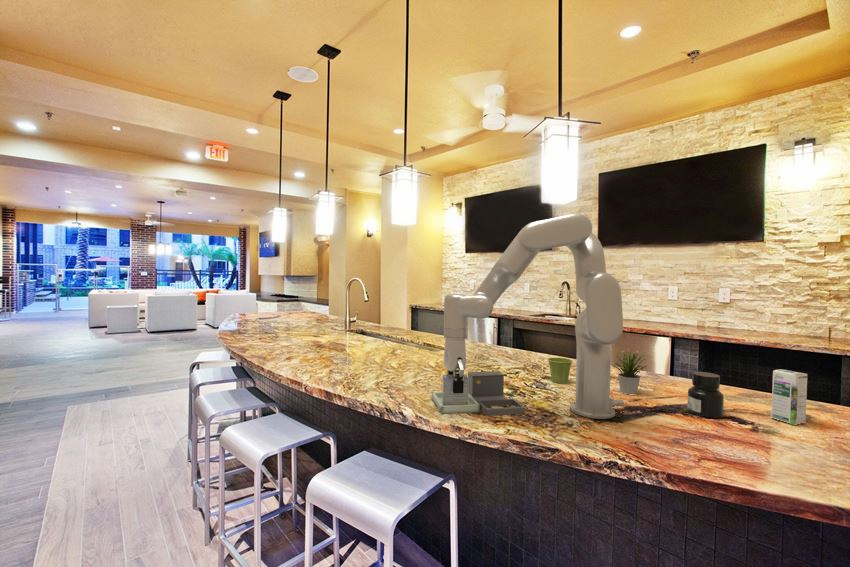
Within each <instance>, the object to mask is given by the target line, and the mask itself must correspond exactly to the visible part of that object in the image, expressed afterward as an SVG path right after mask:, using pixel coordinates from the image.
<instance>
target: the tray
mask: <svg viewBox="0 0 850 567" xmlns="http://www.w3.org/2000/svg"><path fill="white" fill-rule="evenodd" d="M431 400H432V402H433V403H434V405H435V406H436V408H437V410H438V411H439V413H440V415H445V414H446V415H448V414H449V415H450V414H463V413H466V414H467V413H480V412H481V410H480V405H479V404H478V402H477V401H476V400H475V399H474V398H473V397H472V396H471V395H470V394H469V393H468V405H443V391H441V392H439V391H438V392H435V391H434V392H431Z"/></svg>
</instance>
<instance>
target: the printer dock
mask: <svg viewBox="0 0 850 567" xmlns="http://www.w3.org/2000/svg"><path fill="white" fill-rule="evenodd" d="M504 376H505V375H504V374H503V373H502V372H500V371H497V370H494V371H492V370H491V371H468V372H467V377H468V379H469V380H468V393H469V394H470V395H471V396H472V397H473V398H474V399H475V400H476V401H477V402H478V404H479V405H480V412H482V413H483V415H486V416H487V417H489V416H504V415H505V416H506V415H522V414H523V415H524V414H525V413H526V412H525V411H526V409H525V408H526V406H525V405H523V403H521V402H520V401H518V400H517V399H515V398H507V396H505V395H504V390H505V388H504V386H505V385H504V384H505V383H504V381H505V380H504ZM499 406H512V407H499ZM488 407H492V408H488ZM495 407H496V408H495Z"/></svg>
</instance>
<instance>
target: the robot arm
mask: <svg viewBox="0 0 850 567" xmlns="http://www.w3.org/2000/svg"><path fill="white" fill-rule="evenodd" d="M560 247H566V248H568V249H569V251H570V252H571V254H572V257H573V262H574V267H575V268H574V270H575V291H576V295H577V297H578V298H579V299H580V300H581V301H582V302H584V303H585V309H584V310H582V311H581V312H579V314H578V315H577V316H576V319H575V323H574V324H575V325H574V330H575V340H576V359H575V360H576V363H575V366H576V368H575V369H576V370H575V372H576V373H575V402H572V403H570V405H569V409H570V411H571V412H572V413H573V414H575V415H578V416H579V417H580V416H581V417H585V418H589V419H595V420H596V419H597V420H607V419H612V418H614V417H615V416H616V411H615V409H614V408H615V407H616V406H617V407H624V405H625V401H624V399H615V398H614V397H611V364H612V363H611V359H612V358H611V356H612V355H611V354H612V351H611V350H612V349H611V345H612V344H614V343H616V342H617V341H618V340H619V339H620V338H621V336H622V334H623V332H624V330H623V329H624V313H623V298H622V297H623V296H622V290H621V286H620V284H619V282H618V280H617V279H616V278H615V277H614V276H613V275H612V274H609V273H607V266H606V259H605V251H604V247H603V246H602V243H601V241H600V239H599V238H598V237H597V236H596V234H594V233H593V223H592V221H591V220H590V218H589V217H588V216H586V215H584V214H582V213H571V214H567V215H561V216H558V217H552V218H547V219H542V220H536V221H532V222H529V223H528V224H526V225H525V226H524V227H522V228H521V230H520V231H519V232H518V233H517V235H516V236H515V237H514V238H513V240H512V241H511V242H510V244H509V245H508V246H507V248H506V249H505V250H504V251H503V253H502V254H501V256H500V257H499V258H498V260H497V261H496V262H495V263H494V265H493V267H492V268H491V270H490V271H489V273H488V274H487V275H486V277H485V278H484V280H483V281H482V282H481V283H480V285H479V286H478V288H477V289H476V290H475V292H473V294H472V295H466V294H463V293H462V294H461V293H450V294H446V295H445V296H444V301H443V304H444V305H443V306H444V307H443V338H444V339H445V340H444V350H443V351H444V352H443V353H444V354H443V365H444V367H445V368H446V370H447V371H446V375H454V380H453V393H454V394H456V393H463V386H464V375H465V370H466V367H467V366H466V365H467V364H466V363H467V362H466V361H467V359H466V358H467V357H466V356H467V355H466V354H467V353H466V352H467V350H466V340H468V335H469V334H468V333H469V326H468V325H469V318H471V319H478V320H481V319H482V320H483V319H487V318H488V317H489V316H491V315H492V314H493V312H494V305H495V304H496V303H497V301H498V300H499V299H500V297H501V296H502V295H503V293H505V291H506V290H507V289H508V288H509V287H510V286H513V284H514V283H516V282H517V281H518V280H519V279H520V277H522V276H523V274H524V272H525V271H526V269H527V268H528V267H529V266H530V265H531V263H532V262H533V261H534V259H535V258H536V257H537V256H538V254H540V252H541V251H542V250H549V249H555V248H560ZM456 375H457V376H456Z"/></svg>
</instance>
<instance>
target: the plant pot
mask: <svg viewBox="0 0 850 567" xmlns="http://www.w3.org/2000/svg"><path fill="white" fill-rule="evenodd" d="M547 361H548V365H549V369H550V370H549V371H550V378H551V382H553V383H556V384H557V383H559V384H567V383H568V382H569V378H570V371H571V367H572V363H573V359H571V358H566V357H548V358H547Z"/></svg>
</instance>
